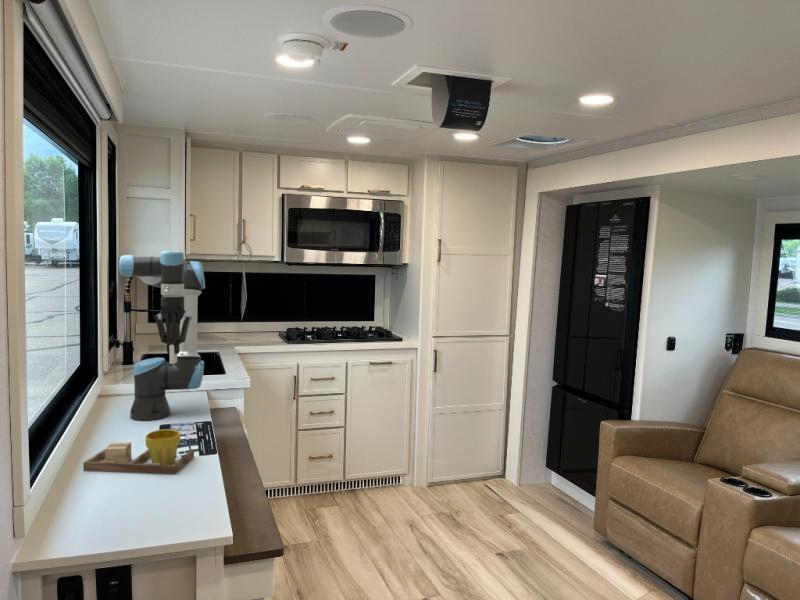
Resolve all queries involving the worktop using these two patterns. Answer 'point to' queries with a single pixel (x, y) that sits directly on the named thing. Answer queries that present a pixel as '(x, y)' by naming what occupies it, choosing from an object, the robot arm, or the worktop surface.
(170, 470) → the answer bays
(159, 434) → the plant pot
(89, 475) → the worktop surface
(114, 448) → the oak block
